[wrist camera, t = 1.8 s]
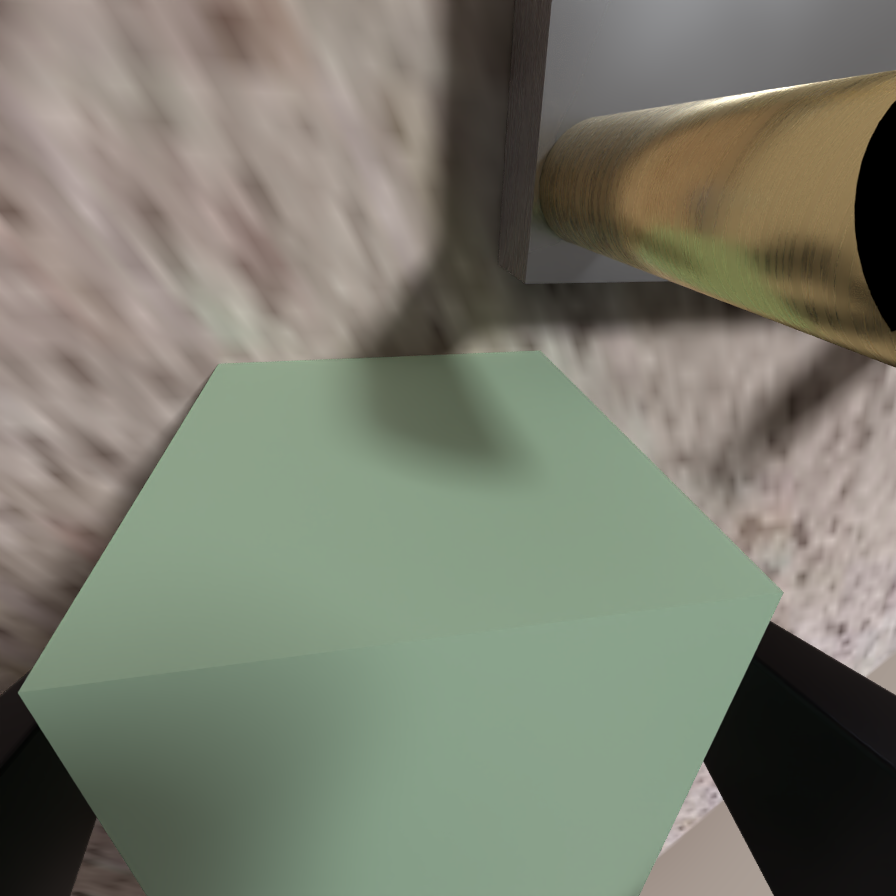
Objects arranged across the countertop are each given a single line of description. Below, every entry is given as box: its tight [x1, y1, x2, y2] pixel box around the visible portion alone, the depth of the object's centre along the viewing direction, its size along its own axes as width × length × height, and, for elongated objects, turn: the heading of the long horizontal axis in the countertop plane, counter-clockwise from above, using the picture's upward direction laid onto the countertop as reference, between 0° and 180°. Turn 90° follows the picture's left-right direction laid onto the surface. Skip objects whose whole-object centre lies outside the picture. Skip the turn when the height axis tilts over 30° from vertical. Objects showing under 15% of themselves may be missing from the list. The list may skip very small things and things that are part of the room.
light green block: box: [18, 351, 784, 896], centre depth 7 cm, size 8×4×5 cm, turn 179°
